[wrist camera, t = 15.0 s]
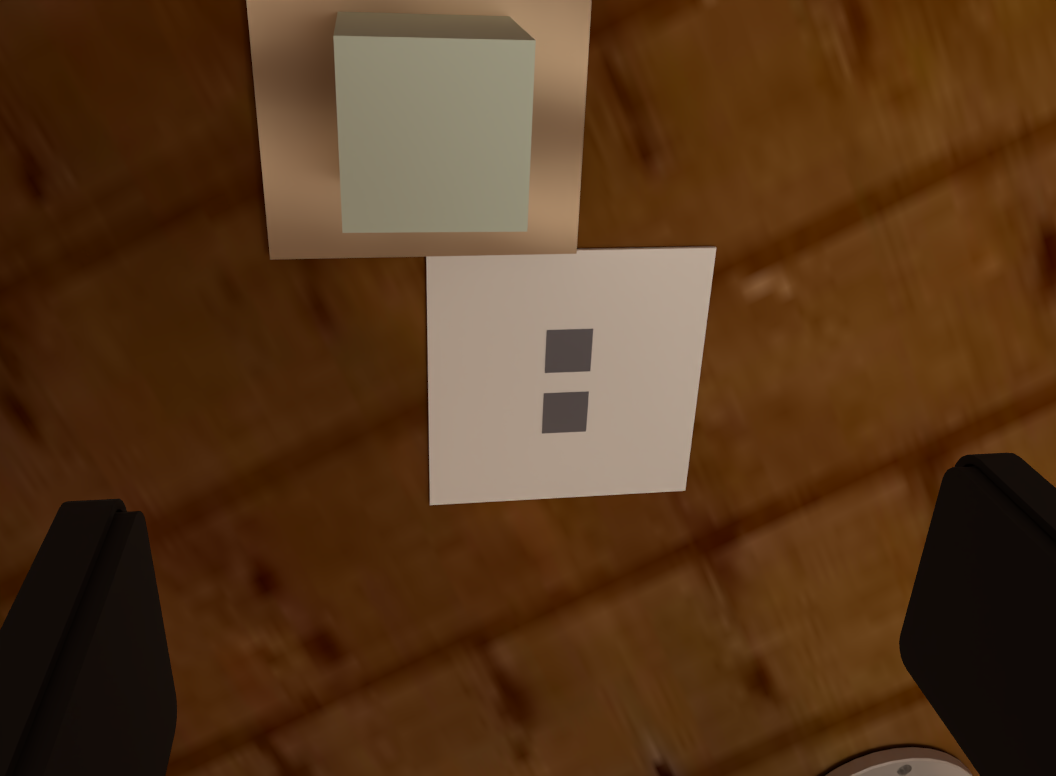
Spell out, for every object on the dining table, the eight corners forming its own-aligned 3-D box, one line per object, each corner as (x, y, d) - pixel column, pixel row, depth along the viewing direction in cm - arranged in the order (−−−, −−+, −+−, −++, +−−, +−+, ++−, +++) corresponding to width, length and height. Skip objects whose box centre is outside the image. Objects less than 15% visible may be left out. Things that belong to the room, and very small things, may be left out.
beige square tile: (573, 248, 40) (576, 253, 39) (271, 254, 38) (270, 259, 37) (592, -78, 34) (595, -77, 34) (240, -89, 32) (238, -89, 32)
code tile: (684, 488, 46) (685, 491, 46) (429, 502, 44) (429, 505, 44) (714, 246, 41) (716, 248, 40) (425, 251, 39) (426, 253, 39)
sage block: (504, 182, 37) (527, 231, 32) (345, 182, 36) (342, 232, 31) (509, 16, 35) (535, 40, 29) (337, 11, 34) (333, 35, 28)
